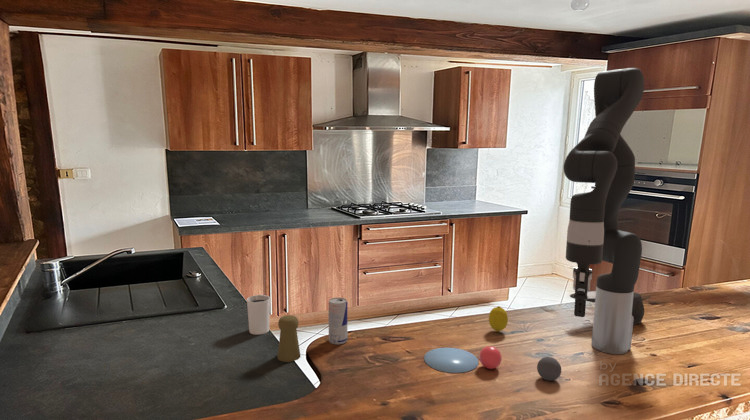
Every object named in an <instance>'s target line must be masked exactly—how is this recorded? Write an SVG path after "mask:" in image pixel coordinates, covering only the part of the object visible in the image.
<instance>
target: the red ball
mask: <svg viewBox="0 0 750 420" xmlns="http://www.w3.org/2000/svg"><path fill="white" fill-rule="evenodd" d="M478 356H479V357H478V358H479V359H478V360H479V363H480V364H481V365H482V366H483V367H484V368H486V369H489V370H493V369H497V368H498V367H499V366H500V365H501V363H502V354H501V352H500V350H499V349H498V348H497V347H495V346H492V345H491V346H490V345H487V346H485V347H483V348H481V350H480V351H479V354H478Z"/></svg>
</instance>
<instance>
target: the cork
mask: <svg viewBox="0 0 750 420" xmlns="http://www.w3.org/2000/svg"><path fill="white" fill-rule="evenodd" d="M277 326H278V329H279V330H280V332H279V338H278V339H279V340H278V350H277V356H276V357H277V360H278V361H280V362H283V363H290V362H296V361H298V360H299V359H300V358H301V352H300V344H299V338H298V337H299V336H298V332H297V330H298V329H297V328H299V319H298V317H297V316H295V315H291V314H287V315H283V316H281V317H280V318H279V319H278V323H277Z"/></svg>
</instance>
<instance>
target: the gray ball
mask: <svg viewBox="0 0 750 420" xmlns="http://www.w3.org/2000/svg"><path fill="white" fill-rule="evenodd" d="M536 370H537V374H538V375H539V376H540V377H541V378H542V379H543V380H545V381H548V382H549V381H551V382H552V381H555V380H558V379H559V378H560V376H561V373H562V367H561V363H560V362H559V361H558V360H557V359H556V358H554V357H552V356H545V357H542V358H541V359H540V360H538V362H537V366H536Z"/></svg>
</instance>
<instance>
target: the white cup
mask: <svg viewBox="0 0 750 420" xmlns="http://www.w3.org/2000/svg"><path fill="white" fill-rule="evenodd" d="M270 304H271V297H270V296H269V295H267V294H266V295H265V294H255V295H251V296H249V297H247V298H246V305H247V318H248V319H247V321H248V329H249V330H248V332H249V333H250V334H252V335H255V336H256V335H259V336H260V335H264V334H267V333H268V332H269V331H270V320H271V319H270V316H271V315H270V313H271V311H270V309H271V308H270V307H271V305H270Z"/></svg>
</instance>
